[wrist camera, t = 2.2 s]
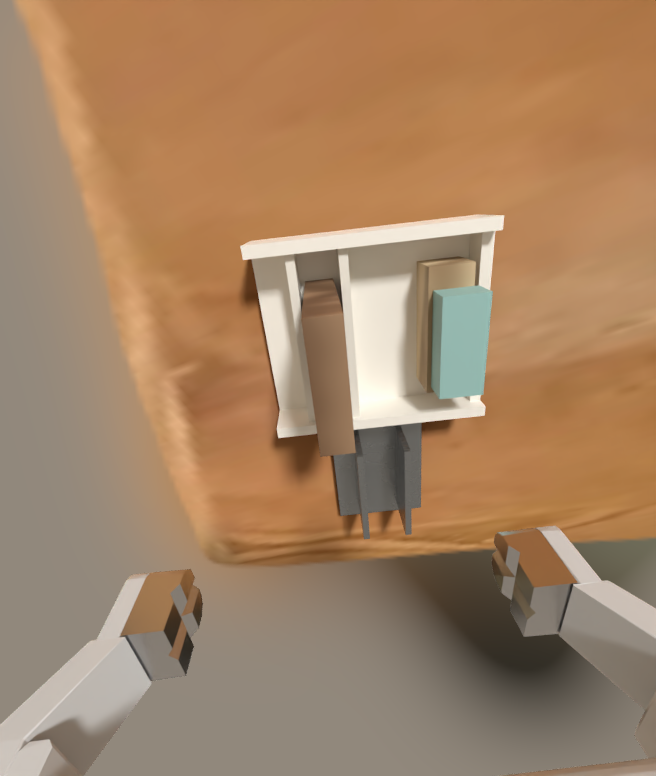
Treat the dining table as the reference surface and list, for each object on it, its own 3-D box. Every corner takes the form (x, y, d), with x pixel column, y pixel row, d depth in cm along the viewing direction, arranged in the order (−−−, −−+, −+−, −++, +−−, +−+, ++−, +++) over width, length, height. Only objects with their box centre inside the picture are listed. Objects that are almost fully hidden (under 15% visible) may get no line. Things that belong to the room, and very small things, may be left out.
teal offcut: (478, 285, 24) (492, 291, 22) (471, 382, 27) (483, 394, 25) (432, 290, 24) (442, 297, 22) (430, 386, 27) (439, 399, 25)
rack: (477, 214, 26) (504, 215, 22) (465, 392, 32) (484, 415, 28) (250, 241, 26) (240, 246, 22) (282, 412, 32) (278, 438, 28)
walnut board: (333, 278, 26) (343, 314, 17) (342, 379, 30) (355, 452, 21) (305, 281, 26) (301, 318, 17) (318, 381, 30) (320, 456, 21)
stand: (419, 407, 32) (435, 437, 28) (418, 501, 37) (432, 540, 33) (329, 417, 32) (331, 449, 28) (340, 509, 37) (343, 549, 33)
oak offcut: (459, 256, 26) (476, 261, 23) (453, 372, 30) (467, 388, 27) (416, 261, 26) (428, 267, 23) (416, 376, 30) (426, 393, 27)
